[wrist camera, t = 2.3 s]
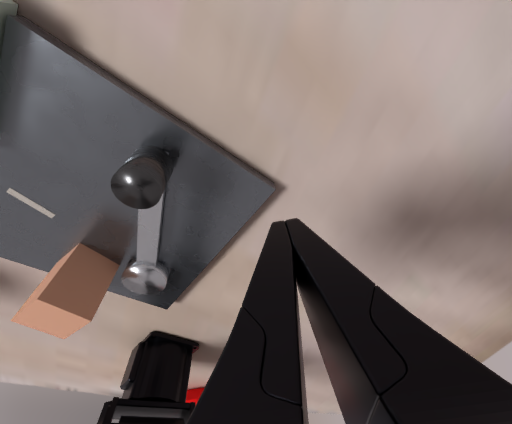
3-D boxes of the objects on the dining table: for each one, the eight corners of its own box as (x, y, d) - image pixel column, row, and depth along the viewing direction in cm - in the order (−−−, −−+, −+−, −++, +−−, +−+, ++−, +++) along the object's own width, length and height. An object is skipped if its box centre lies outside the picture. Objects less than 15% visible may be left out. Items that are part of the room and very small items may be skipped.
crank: (166, 287, 22) (156, 325, 20) (125, 282, 22) (108, 320, 19) (187, 149, 15) (175, 177, 12) (125, 133, 14) (95, 159, 11)
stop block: (119, 265, 20) (91, 321, 16) (96, 282, 22) (64, 339, 18) (79, 242, 19) (37, 299, 15) (56, 263, 20) (10, 320, 16)
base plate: (273, 182, 18) (275, 189, 17) (169, 300, 26) (166, 309, 25) (23, 16, 12) (6, 14, 11) (-16, 239, 19) (-28, 248, 18)
